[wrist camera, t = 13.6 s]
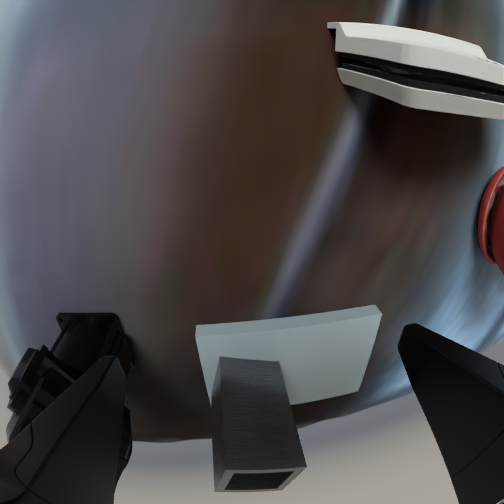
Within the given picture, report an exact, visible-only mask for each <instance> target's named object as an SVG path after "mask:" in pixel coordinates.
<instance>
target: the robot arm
mask: <svg viewBox="0 0 504 504" xmlns="http://www.w3.org/2000/svg"><path fill="white" fill-rule="evenodd" d="M61 318H62V319H61ZM110 318H112V319H113V320H111V319H110ZM56 319H57V321H58V324H59V326H60V328H61V330H62V332H61V333H60V335H59V337H58V338H57V340H56V342H55V343H54V345H53V347H52V348H51V350H50V351H49V350H48V348H47V347H46V346H45V345H44V344H43V345H42V347H41V348H40V349H39V350H38V349H36V350H35V349H32V348H28V350H27V351H26V353H25V354H24V356H23V357H22V359H21V361H20V362H19V364H18V366H17V367H16V369H15V371H14V373H13V375H12V377H11V379H10V380H9V382H8V386H9V390H10V396H9V399H10V400H9V403H8V406H7V408H8V409H10V410H11V411H12V412H13V415H12V417H11V419H10V421H9V423H8V425H7V428H6V433H7V440H8V444H7V445H6V446H4V447H3V448H2V449H0V504H114V493H115V489H116V485H117V482H118V480H119V478H120V476H121V473H122V471H123V470H124V468H125V467H126V466H127V464H128V461H129V459H130V456H131V452H132V436H131V423H130V410H129V409H128V408H126V407H125V406H124V402H125V388H126V378H127V375H128V371H129V370H131V369H133V368H134V365H135V364H134V361H133V359H132V357H133V355H132V352H131V350H130V347H129V345H128V342H127V339H126V337H125V335H124V334H123V333H122V330H121V327H120V324H119V321H118V318H117V316H116V315H115V314H113V313H59V314H58V315H57V317H56ZM398 351H399V354H400V356H401V359H402V361H403V364H404V367H405V369H406V372H407V375H408V378H409V380H410V383H411V385H412V388H413V390H414V392H415V394H416V396H417V398H418V401H419V403H420V405H421V407H422V409H423V412H424V414H425V416H426V418H427V421H428V423H429V425H430V427H431V430H432V432H433V434H434V437H435V439H436V442H437V444H438V446H439V449H440V451H441V454H442V456H443V459H444V462H445V464H446V467H447V469H448V472H449V475H450V477H451V481H452V484H453V486H454V489H455V492H456V495H457V498H458V501H459V504H496V503H498V502H499V501H501V500H502V501H501V502H500V503H499V504H504V365H502V364H500V363H497V362H496V361H494V360H491V359H489V358H487V357H485V356H483V355H481V354H479V353H477V352H475V351H473V350H471V349H469V348H467V347H465V346H463V345H460V344H458V343H456V342H454V341H452V340H450V339H448V338H446V337H444V336H442V335H440V334H438V333H435V332H433V331H431V330H429V329H427V328H425V327H423V326H421V325H419V324H416V323H413V324H409V325H406V326H405V327H404V328H403V331H402V334H401V337H400V340H399V343H398Z"/></svg>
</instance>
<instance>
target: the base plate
mask: <svg viewBox="0 0 504 504" xmlns="http://www.w3.org/2000/svg"><path fill="white" fill-rule="evenodd" d="M381 316H382V313H381V312H380V310H379V309H378V308H377V307H376V306H375V305H369V306H363V307H357V308H351V309H345V310H338V311H331V312H324V313H317V314H309V315H302V316H293V317H285V318H276V319H267V320H257V321H246V322H234V323H221V324H207V325H196V335H195V337H196V342H197V347H198V352H199V356H200V361H201V365H202V370H203V374H204V379H205V383H206V387H207V391H208V395H209V399H210V403H211V392H212V388H213V383H214V379H215V375H216V370H217V366H218V362H219V357H220V356H222V357H231V358H241V359H252V360H265V361H279V363H280V367H281V371H282V375H283V378H284V382H285V386H286V390H287V394H288V397H289V401H290V405H294V404H300V403H306V402H311V401H317V400H322V399H326V398H331V397H336V396H340V395H344V394H349V393H353V392H357V391H358V390H359V388H360V385H361V382H362V379H363V376H364V373H365V370H366V367H367V364H368V361H369V358H370V355H371V351H372V348H373V345H374V341H375V338H376V334H377V331H378V327H379V323H380V319H381Z"/></svg>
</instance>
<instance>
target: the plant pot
mask: <svg viewBox="0 0 504 504" xmlns="http://www.w3.org/2000/svg"><path fill="white" fill-rule="evenodd" d="M478 237H479V243H480V247H481V250H482V253H483V255H484V256H485V258H486V259H487V260H488V261H489V262H491V263H493V264H498V266H499V268H500V269H501V271H502V273H503V275H504V166H503V167H502V168H500V169H499V170H498V171H497V172H496V173H495V175H494V176H493V177H492V179H491V180H490V182H489V184H488V186H487V188H486V190H485V193H484V196H483V199H482V202H481V207H480V212H479V220H478Z"/></svg>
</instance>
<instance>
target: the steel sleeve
mask: <svg viewBox="0 0 504 504" xmlns="http://www.w3.org/2000/svg"><path fill="white" fill-rule="evenodd" d="M211 407H212V444H213V466H214V467H213V468H214V487H215V492H260V491H276V490H283V489H284V488H285V487H286V486H287V485H288V484H289V483H290V482H291V481H292V480H293V479H295V478H296V477H297V476H298V475H299V474H300V473H301V472H302V471H303V470H304V469H305V468H306V467H307V466H306V462H305V458H304V454H303V450H302V447H301V443H300V439H299V435H298V431H297V428H296V424H295V420H294V416H293V413H292V409H291V405H290V401H289V397H288V394H287V390H286V386H285V382H284V378H283V375H282V371H281V367H280V363H279V361H265V360H252V359H241V358H231V357H222V356H220V357H219V362H218V366H217V370H216V375H215V379H214V383H213V388H212V392H211Z"/></svg>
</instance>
